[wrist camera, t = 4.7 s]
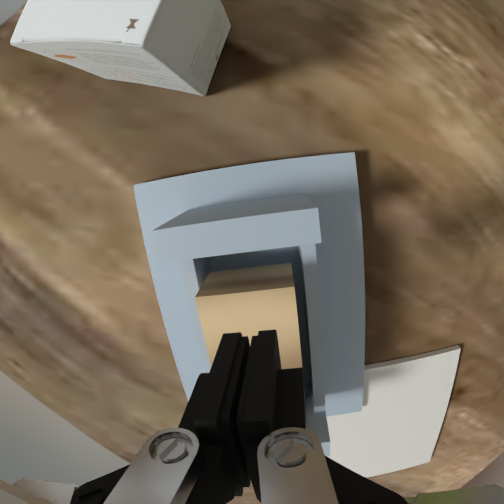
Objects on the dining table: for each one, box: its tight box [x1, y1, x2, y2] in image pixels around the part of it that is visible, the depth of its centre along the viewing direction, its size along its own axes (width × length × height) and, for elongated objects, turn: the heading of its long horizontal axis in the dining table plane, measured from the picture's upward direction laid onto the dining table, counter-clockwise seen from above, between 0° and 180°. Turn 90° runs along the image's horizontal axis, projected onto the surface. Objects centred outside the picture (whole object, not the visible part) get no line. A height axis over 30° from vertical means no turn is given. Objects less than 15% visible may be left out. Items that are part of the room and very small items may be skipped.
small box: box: [10, 0, 231, 96], centre depth 13 cm, size 8×6×10 cm
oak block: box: [195, 263, 302, 369], centre depth 17 cm, size 10×4×4 cm, turn 8°
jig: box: [133, 152, 365, 456], centre depth 19 cm, size 20×14×8 cm
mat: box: [326, 345, 461, 478], centre depth 25 cm, size 12×16×1 cm
